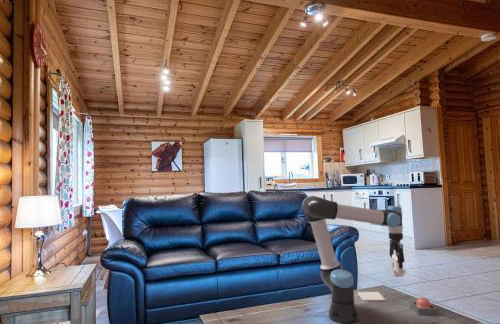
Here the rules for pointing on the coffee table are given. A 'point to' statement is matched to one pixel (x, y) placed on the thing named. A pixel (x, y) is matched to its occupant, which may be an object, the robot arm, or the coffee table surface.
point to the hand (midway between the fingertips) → (397, 271)
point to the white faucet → (395, 270)
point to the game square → (371, 296)
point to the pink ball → (423, 303)
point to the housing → (424, 309)
